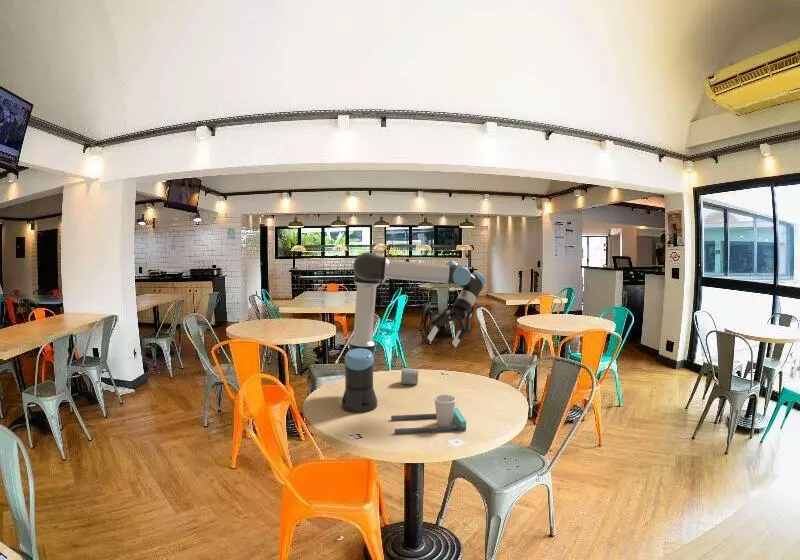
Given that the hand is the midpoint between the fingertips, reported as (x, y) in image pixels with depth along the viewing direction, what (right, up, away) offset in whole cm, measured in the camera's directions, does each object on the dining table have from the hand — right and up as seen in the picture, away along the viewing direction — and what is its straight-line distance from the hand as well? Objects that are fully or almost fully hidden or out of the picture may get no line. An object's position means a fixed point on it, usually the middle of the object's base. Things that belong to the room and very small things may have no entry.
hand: (441, 342), depth 183 cm
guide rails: (-7, -29, -16) cm, 34 cm away
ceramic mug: (-13, -25, +34) cm, 44 cm away
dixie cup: (0, -29, -15) cm, 33 cm away
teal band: (+5, -29, -14) cm, 33 cm away
